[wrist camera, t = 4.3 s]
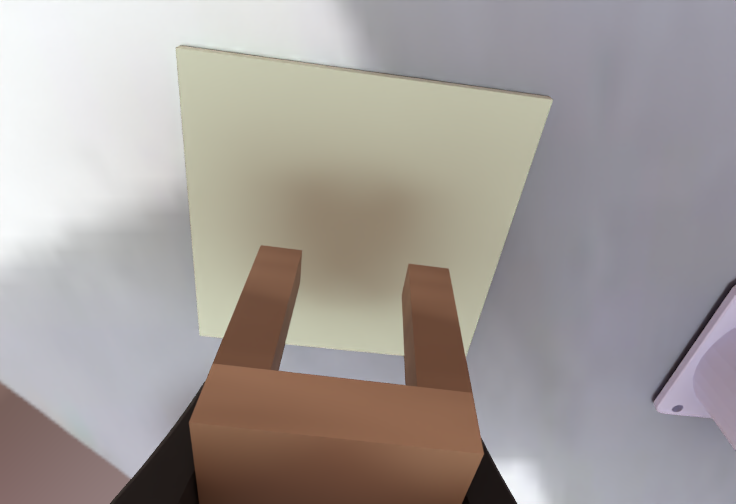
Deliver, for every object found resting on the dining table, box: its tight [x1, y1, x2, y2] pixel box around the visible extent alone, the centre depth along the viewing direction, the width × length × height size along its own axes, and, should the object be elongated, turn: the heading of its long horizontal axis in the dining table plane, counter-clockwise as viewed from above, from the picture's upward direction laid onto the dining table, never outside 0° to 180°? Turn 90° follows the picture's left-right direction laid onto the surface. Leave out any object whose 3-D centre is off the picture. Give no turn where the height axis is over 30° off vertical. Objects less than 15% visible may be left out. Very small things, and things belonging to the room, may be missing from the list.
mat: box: [176, 46, 553, 357], centre depth 18 cm, size 12×12×1 cm
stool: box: [189, 245, 484, 504], centre depth 11 cm, size 7×5×5 cm, turn 173°
